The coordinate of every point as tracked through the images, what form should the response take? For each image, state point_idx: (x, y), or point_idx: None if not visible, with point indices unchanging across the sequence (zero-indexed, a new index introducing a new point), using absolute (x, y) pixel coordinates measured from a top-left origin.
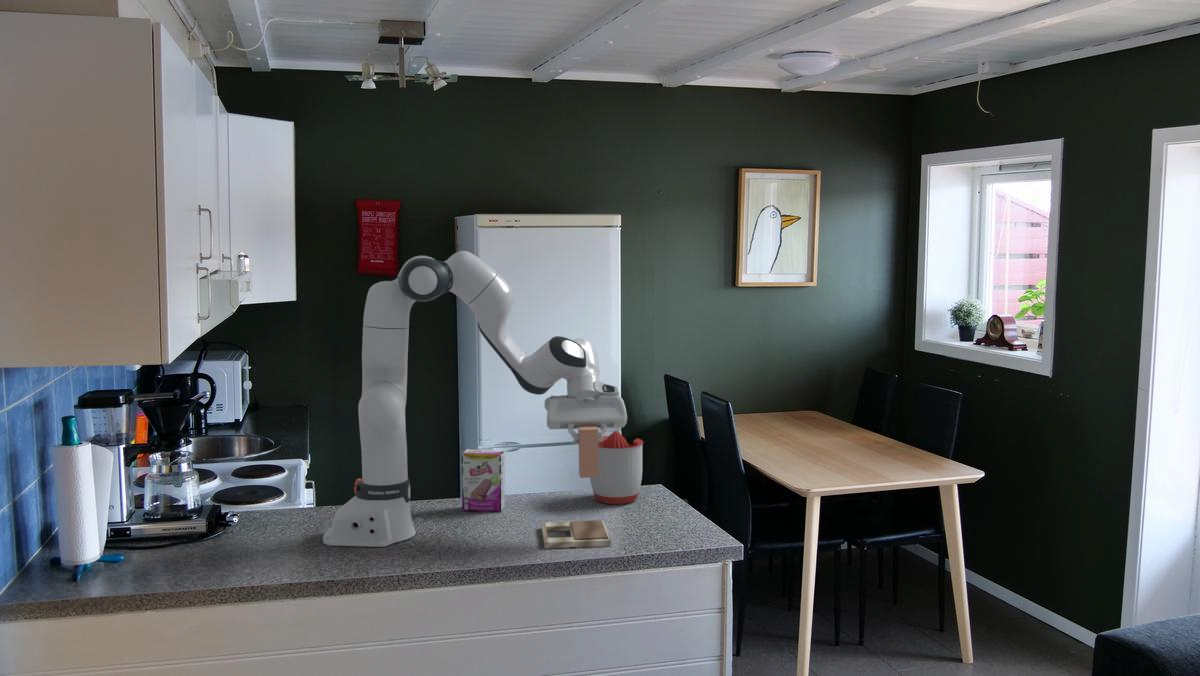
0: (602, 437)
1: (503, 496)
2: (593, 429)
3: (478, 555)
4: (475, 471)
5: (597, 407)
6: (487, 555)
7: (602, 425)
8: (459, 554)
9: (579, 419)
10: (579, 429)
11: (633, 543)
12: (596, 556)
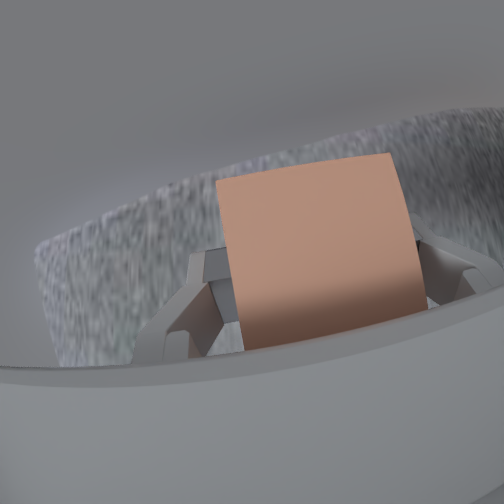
0: (198, 253)
1: None
2: (263, 173)
3: (461, 164)
4: None
5: None
6: (449, 164)
7: (177, 339)
8: (485, 170)
9: (457, 313)
10: (402, 201)
11: (186, 245)
12: (258, 162)
